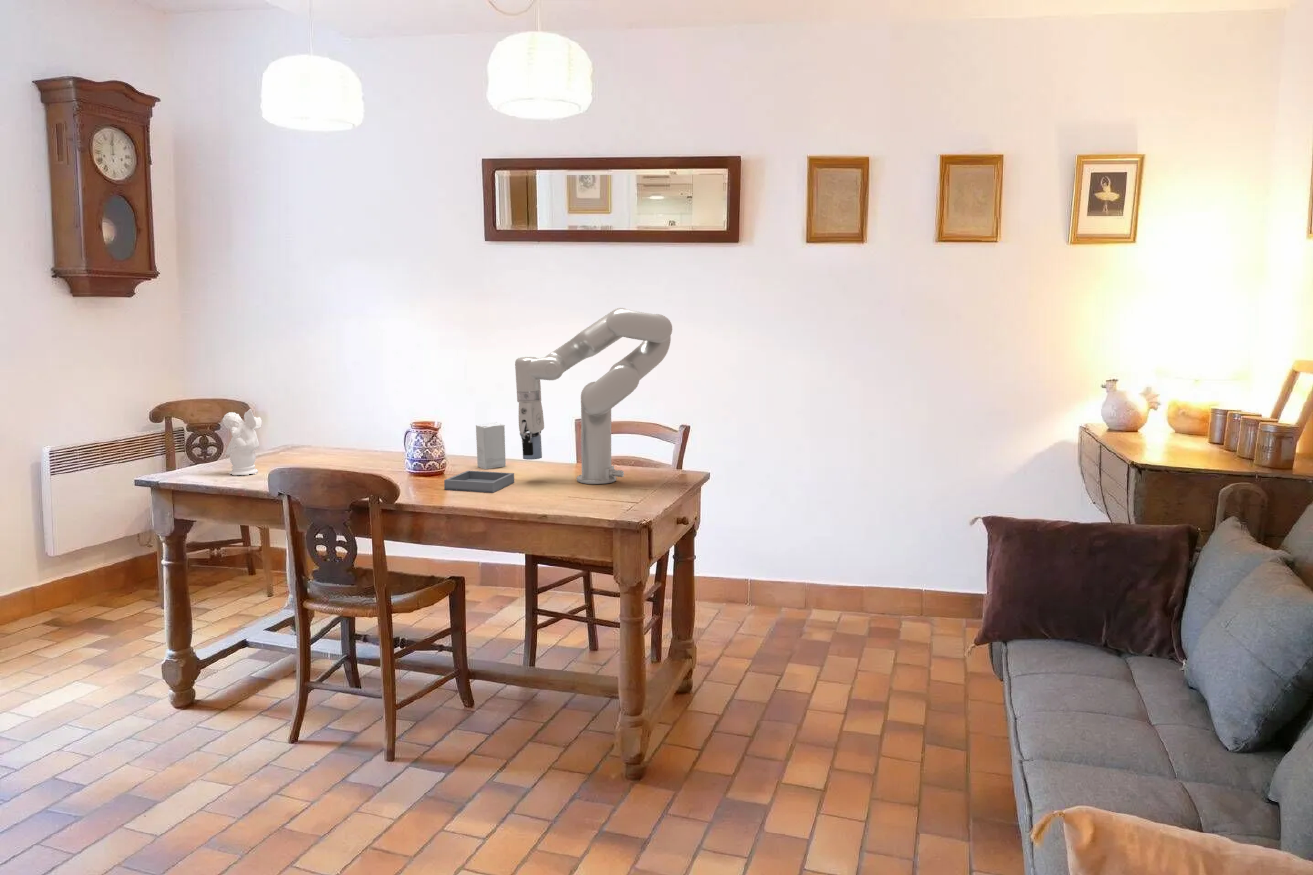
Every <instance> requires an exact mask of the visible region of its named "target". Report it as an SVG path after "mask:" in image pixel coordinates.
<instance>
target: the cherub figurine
mask: <svg viewBox="0 0 1313 875" xmlns="http://www.w3.org/2000/svg"><path fill="white" fill-rule="evenodd" d="M243 419H244V420H243ZM243 419H242V417H241V416H240V414H239V413H236V412H233V411H232V412H227V413H226V414H224V415H223V418H222V422H223V425H224V427H225V428H226V429H229V432H230V433H231V439H230V441H229V443H228V446H227V448H226V450H225V454H224V455H226V456H227V455H228V456H229V460H230V463H231V465H232V466H231V469H232V470H230V471H229V475H230V474H232V475H249V474H253V475H256V474H255V473H257V474H258V473H259V470H258V469H257V468H255V467H256V464H255V462H256V460H257V459H256V458H257V454H256V452H255V450H258V449H259V447H260V442H259V438H258V435H257V431H256V430H259V429H261V428H262V424H263V418H261V416H257V417H256V416H255V415H254V412H253V410H252V408H249V409H248V410H247V411H245V412H244V415H243ZM232 475H231V476H232ZM249 476H250V475H249Z"/></svg>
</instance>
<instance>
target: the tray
mask: <svg viewBox="0 0 1313 875" xmlns="http://www.w3.org/2000/svg"><path fill="white" fill-rule="evenodd" d="M443 483H444V484H443V485H444V486H443V487H444V491H457V492H458V491H460V492H476V493H489V494H490V493H491V494H492V493H496V492H498V491H500V490H502V489H503V488H506V487H508V486H510V485H513V484H514V483H515V473H514V472H502V471H501V472H497V471H484V470H483V471H481V470H465V471H463V472H461V473H458V474H456V475H453V476H451V477H448V478H446V479H444V482H443Z"/></svg>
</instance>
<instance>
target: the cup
mask: <svg viewBox="0 0 1313 875" xmlns="http://www.w3.org/2000/svg"><path fill="white" fill-rule="evenodd" d="M527 436H528V438H529V435H527ZM531 442H533V455H523V454H522V459H524V460H539V459H542V458H543V450H542V449H543V448H542V434H541V435H532V440H531ZM521 447H522V449H521V450H523V444H522V443H521Z"/></svg>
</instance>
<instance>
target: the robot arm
mask: <svg viewBox="0 0 1313 875" xmlns="http://www.w3.org/2000/svg"><path fill="white" fill-rule="evenodd" d="M672 333H673V324H672V322H671V320H670V319H669V318H668V317H666V316H665V315H664V314H659V313H649V312H642V311H637V310H631V309H627V308H625V307H618V308H615V309H613V310H611V311H610V312H608V313H607V314H606V315H604V316H603V317H601V318H600V319H598V320H597V321H595V322H593V323H592V324H590V325H589V326H587V327H586V328H584V329H583V330H581V331H580V332H578V333H577V334H576V335H575V336H574V337H572V338H571V339H570V340H568V341H567V342H565V343H564V344H562V345H561V346H559V347H558V348H556V349H555V350H553V351H552V352H550V353H549V354H547V355H546V356H544V357H535V356H524V357H523V356H522V357H518V358H516V359H515V361H514V362H515V363H514V368H515V384H516V400H517V403H518V429H519V430H518V431H519V436H520V439H521V445H522V444H523V449H522V456H523V455H533V442H531V440H532V435H541V436H542V434H541V433H542V431H543V430H544V428H545V420H544V412H543V411H544V410H543V406H542V388H541V387H542V386H541V380H542V381H556V380H559V379H560V378H561V377H562V375H563V374H564V373H565V372H566V371H568V370H569V369H571V368H572V367H574V366H576V365H577V364H578V363H580V362H582V361H583V360H586V359H588V358H591V357H594V356H596V355H598V354H599V353H601V352H602V351H604V350H605V349H607V348H608V347H609V346H611V345H612V344H615V343H616V342H617V341H619V340H620V339H621V338H627V339H631V340H639V341H641V343H640V344H639V345H638V346H636V347H635V348H634V349H632V351H631V352H630V353H629V354H627V355H626V356H624V357H623V358H622V359H620V360H619V361H618V362H615V363H614V364H612V366H611V367H610V369H609V370H608V371H607V372H606V373H604V374H603V375H602V376H601V377H599V378H598V379H597V380H595V381H591V382H589V383H587V384H586V385H585V386H584V387H583V388H582V390H581V393H580V415H581V416H580V417H581V418H580V420H581V421H580V422H581V424H580V428H581V431H580V432H581V434H580V435H581V436H580V437H581V438H580V439H581V441H580V443H581V445H580V447H581V448H580V449H581V474H579V475H577V477H576V481H577V482H578V483H581V484H587V485H604V484H610V483H611V484H612V483H614V482H616V481H617V478H623V477H624V475H625V472H624V471H623V470H620V469H618V470H617V469H615V465H612V409H613V408H614V407H616V406H617V405H618V404H620V402H622V401H623V400H624V399H625V398H627V397H628V396H630V395H631V394H632V393H633V392H634V391H635V390H636V389H637V387H638V386H639V384H640V380H642V379H643V378H644V377H646V376H647V375H648V374H649V373H650V372H651V371H653V370H654V369H655V368H656V367H657V366H659V365H660V363H662V361H663V360H664V359H665V357H666V356H667V354H668V352H669V349H670V345H671V340H672V337H671V336H672ZM527 435H529V438H528V436H527Z"/></svg>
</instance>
